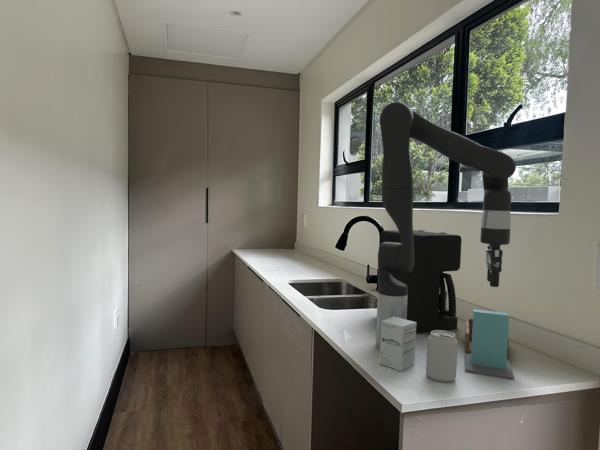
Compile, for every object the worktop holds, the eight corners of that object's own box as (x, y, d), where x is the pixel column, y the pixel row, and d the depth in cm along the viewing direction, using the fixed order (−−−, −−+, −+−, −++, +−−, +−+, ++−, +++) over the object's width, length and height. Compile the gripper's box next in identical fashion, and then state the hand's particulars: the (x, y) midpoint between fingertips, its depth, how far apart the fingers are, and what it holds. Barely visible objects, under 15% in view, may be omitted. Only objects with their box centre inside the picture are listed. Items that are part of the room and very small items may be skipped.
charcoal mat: (513, 379, 111) (514, 377, 111) (465, 371, 115) (465, 369, 115) (508, 361, 124) (508, 359, 124) (464, 354, 128) (465, 353, 128)
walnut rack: (507, 359, 126) (509, 336, 125) (464, 352, 130) (466, 330, 130) (503, 342, 141) (504, 322, 140) (464, 337, 145) (465, 317, 145)
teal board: (506, 369, 116) (509, 315, 116) (470, 363, 120) (473, 311, 119) (505, 365, 119) (508, 313, 118) (470, 360, 122) (473, 309, 122)
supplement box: (378, 364, 119) (380, 320, 118) (392, 357, 124) (394, 315, 123) (401, 372, 114) (403, 326, 113) (415, 365, 119) (417, 321, 118)
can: (436, 385, 106) (438, 338, 106) (420, 373, 113) (422, 329, 113) (462, 382, 108) (464, 336, 108) (444, 370, 115) (446, 327, 115)
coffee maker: (467, 331, 152) (472, 235, 151) (425, 337, 144) (430, 235, 142) (415, 312, 178) (418, 229, 176) (377, 316, 169) (380, 229, 167)
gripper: (514, 228, 110) (510, 290, 111) (507, 226, 124) (504, 280, 124) (483, 227, 113) (480, 287, 114) (479, 225, 126) (476, 278, 127)
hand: (492, 283), depth 119 cm, fingers open, 8 cm apart
